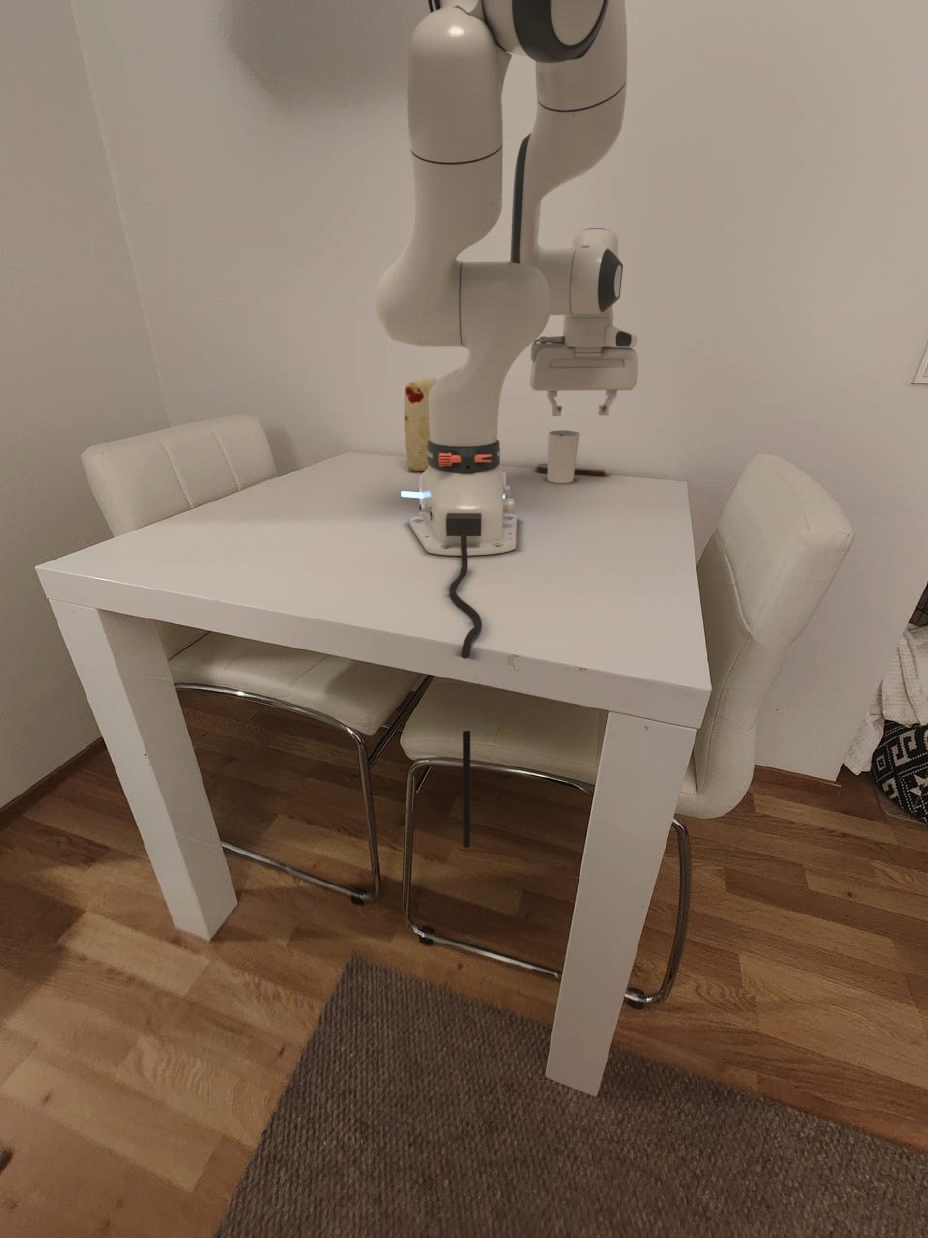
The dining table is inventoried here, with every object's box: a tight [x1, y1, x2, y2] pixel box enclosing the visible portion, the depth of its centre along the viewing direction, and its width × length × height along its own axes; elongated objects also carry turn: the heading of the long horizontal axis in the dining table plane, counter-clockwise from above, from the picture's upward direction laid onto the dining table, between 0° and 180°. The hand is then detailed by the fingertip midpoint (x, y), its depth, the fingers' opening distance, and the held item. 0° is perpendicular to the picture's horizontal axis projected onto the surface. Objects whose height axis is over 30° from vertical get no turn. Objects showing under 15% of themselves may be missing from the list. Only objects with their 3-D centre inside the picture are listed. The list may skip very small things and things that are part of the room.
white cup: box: [547, 429, 581, 484], centre depth 124 cm, size 7×7×10 cm
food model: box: [404, 378, 438, 472], centre depth 130 cm, size 10×7×20 cm
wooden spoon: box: [536, 463, 606, 477], centre depth 131 cm, size 16×4×1 cm, turn 72°
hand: (579, 415), depth 111 cm, fingers open, 8 cm apart
